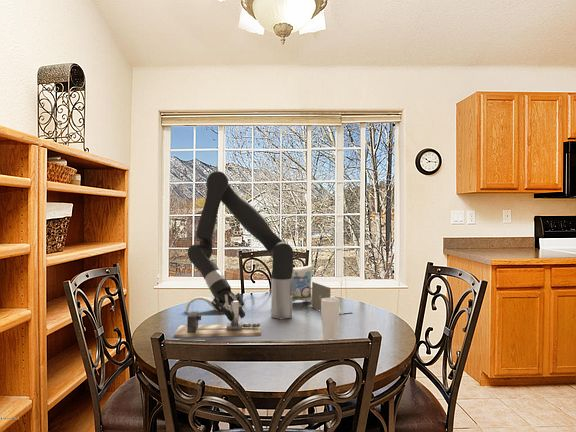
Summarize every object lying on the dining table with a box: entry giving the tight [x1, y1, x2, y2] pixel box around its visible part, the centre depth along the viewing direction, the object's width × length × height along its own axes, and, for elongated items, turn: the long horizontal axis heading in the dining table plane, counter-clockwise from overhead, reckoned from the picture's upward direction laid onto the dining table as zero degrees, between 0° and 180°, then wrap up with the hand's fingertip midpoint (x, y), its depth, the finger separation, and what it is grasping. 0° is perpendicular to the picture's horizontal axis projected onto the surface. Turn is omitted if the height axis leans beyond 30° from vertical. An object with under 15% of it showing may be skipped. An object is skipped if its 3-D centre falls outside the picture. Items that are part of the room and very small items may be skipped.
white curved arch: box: [185, 295, 231, 314], centre depth 185 cm, size 24×12×7 cm, turn 103°
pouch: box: [292, 263, 314, 302], centre depth 203 cm, size 8×19×20 cm, turn 114°
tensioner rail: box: [173, 310, 262, 338], centre depth 153 cm, size 32×12×7 cm, turn 95°
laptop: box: [311, 281, 341, 313], centre depth 188 cm, size 18×12×13 cm
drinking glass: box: [320, 297, 341, 341], centre depth 143 cm, size 7×7×15 cm
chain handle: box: [226, 301, 261, 330], centre depth 154 cm, size 13×5×10 cm, turn 95°
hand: (237, 318), depth 152 cm, fingers open, 5 cm apart
